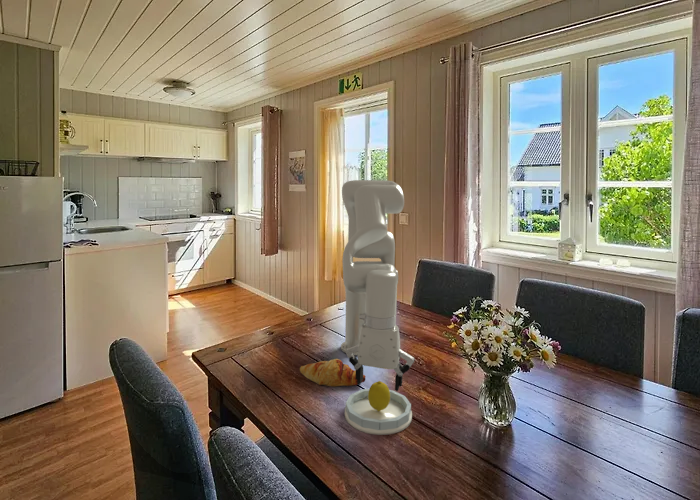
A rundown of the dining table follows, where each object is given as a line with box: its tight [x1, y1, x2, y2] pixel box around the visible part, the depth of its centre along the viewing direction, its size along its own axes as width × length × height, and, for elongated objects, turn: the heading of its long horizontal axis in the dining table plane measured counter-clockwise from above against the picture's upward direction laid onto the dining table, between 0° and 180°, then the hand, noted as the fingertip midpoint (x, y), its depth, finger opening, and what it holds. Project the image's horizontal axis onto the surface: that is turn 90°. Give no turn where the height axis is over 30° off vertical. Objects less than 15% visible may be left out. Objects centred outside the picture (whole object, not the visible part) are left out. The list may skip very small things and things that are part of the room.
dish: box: [344, 388, 413, 436], centre depth 103 cm, size 17×17×3 cm
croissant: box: [299, 358, 366, 388], centre depth 122 cm, size 21×10×8 cm
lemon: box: [368, 380, 390, 411], centre depth 103 cm, size 6×6×8 cm
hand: (378, 385), depth 103 cm, fingers open, 9 cm apart
